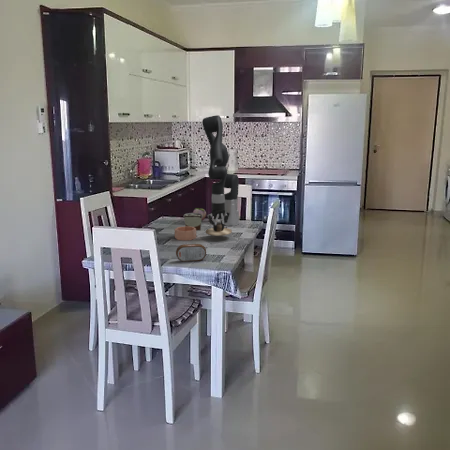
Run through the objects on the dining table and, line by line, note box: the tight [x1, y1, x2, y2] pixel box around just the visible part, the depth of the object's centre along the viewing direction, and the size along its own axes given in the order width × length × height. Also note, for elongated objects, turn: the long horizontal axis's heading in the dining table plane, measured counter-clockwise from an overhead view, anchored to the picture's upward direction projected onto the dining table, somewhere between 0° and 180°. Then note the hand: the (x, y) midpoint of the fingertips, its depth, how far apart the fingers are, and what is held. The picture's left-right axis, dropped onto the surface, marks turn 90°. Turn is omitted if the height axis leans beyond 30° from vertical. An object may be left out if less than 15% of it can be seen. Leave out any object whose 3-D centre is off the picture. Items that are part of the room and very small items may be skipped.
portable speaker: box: [175, 243, 207, 263], centre depth 230 cm, size 15×3×8 cm, turn 99°
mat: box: [199, 234, 238, 245], centre depth 269 cm, size 17×17×1 cm
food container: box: [183, 212, 203, 232], centre depth 291 cm, size 12×6×10 cm, turn 84°
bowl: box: [174, 225, 197, 241], centre depth 270 cm, size 12×12×6 cm
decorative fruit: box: [192, 206, 207, 221], centre depth 312 cm, size 9×8×10 cm
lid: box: [205, 222, 233, 236], centre depth 267 cm, size 15×15×5 cm
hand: (218, 230), depth 268 cm, fingers closed on lid, 3 cm apart
